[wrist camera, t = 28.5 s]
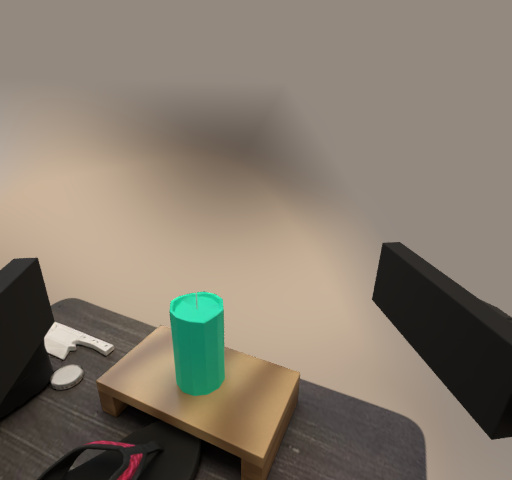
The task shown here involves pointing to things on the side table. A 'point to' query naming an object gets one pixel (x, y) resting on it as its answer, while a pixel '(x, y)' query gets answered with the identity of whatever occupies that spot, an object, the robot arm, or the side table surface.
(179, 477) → the sandal
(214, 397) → the oak shelf
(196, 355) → the candle
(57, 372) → the white ridged disc
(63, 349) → the white plastic blade
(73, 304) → the side table surface
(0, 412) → the loafer
